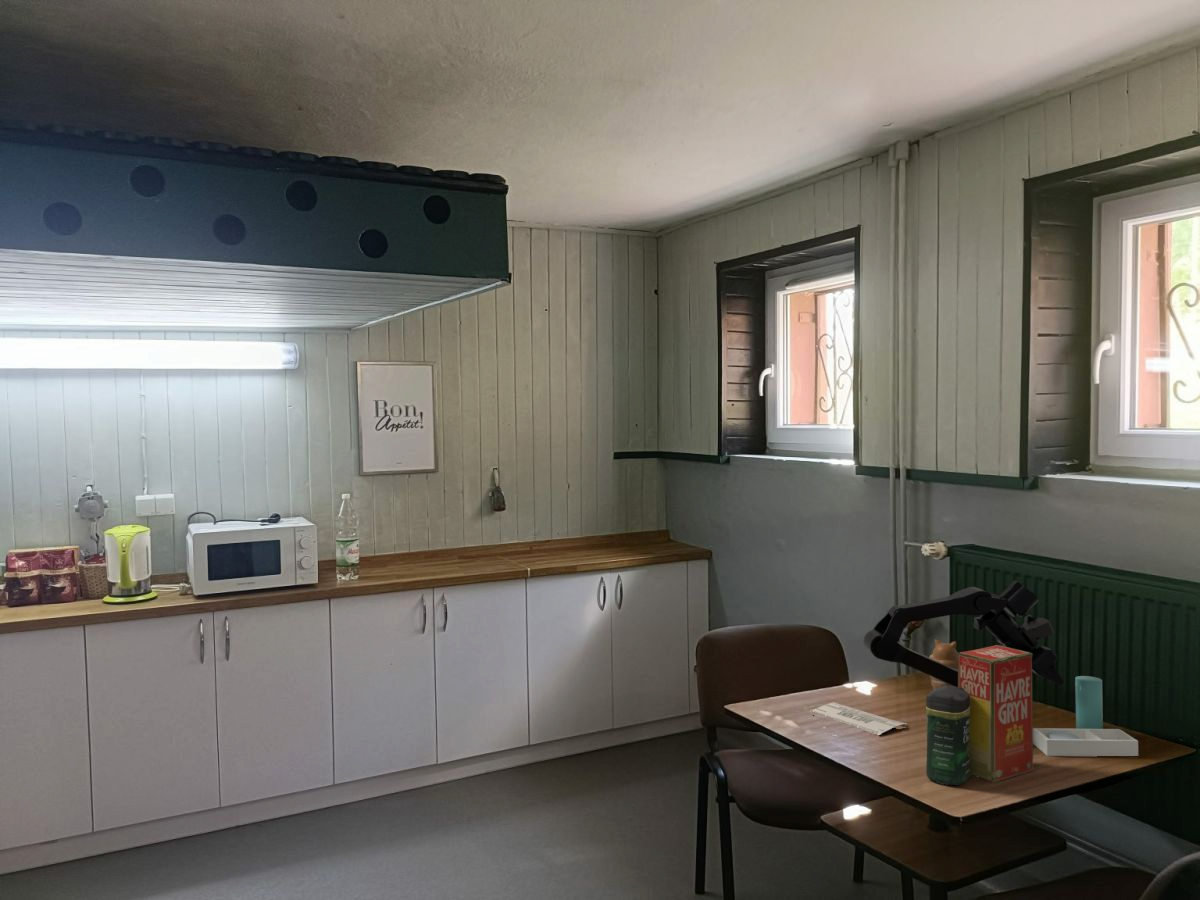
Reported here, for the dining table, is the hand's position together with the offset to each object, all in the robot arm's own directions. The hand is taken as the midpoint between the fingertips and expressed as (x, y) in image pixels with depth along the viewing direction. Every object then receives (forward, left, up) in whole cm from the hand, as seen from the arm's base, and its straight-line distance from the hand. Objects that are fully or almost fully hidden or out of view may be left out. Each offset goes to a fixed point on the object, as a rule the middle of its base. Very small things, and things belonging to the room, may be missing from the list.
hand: (1052, 678), depth 206 cm
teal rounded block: (+8, 0, -13) cm, 15 cm away
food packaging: (-21, -24, -13) cm, 35 cm away
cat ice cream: (-19, +18, -13) cm, 30 cm away
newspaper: (-43, +9, -14) cm, 47 cm away
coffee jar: (-32, -29, -13) cm, 45 cm away
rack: (+2, -11, -13) cm, 17 cm away
